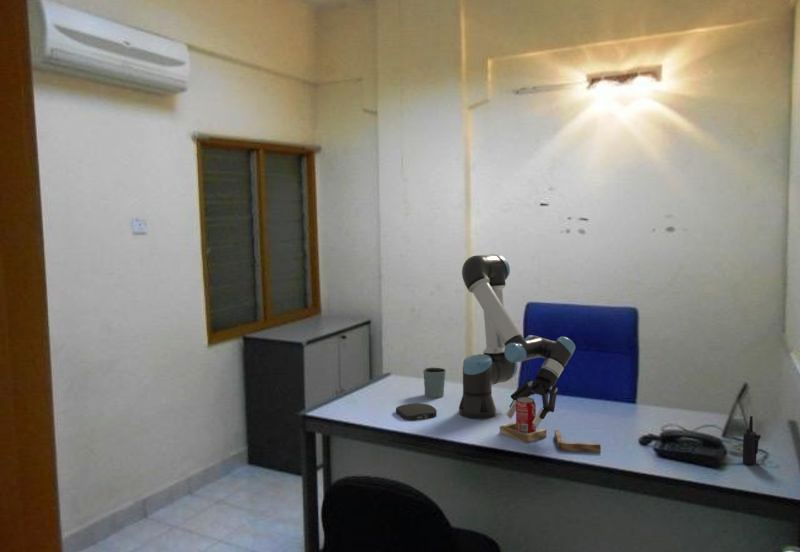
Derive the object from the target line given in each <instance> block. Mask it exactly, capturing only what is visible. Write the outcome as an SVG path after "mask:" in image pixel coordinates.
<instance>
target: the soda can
mask: <svg viewBox="0 0 800 552" xmlns="http://www.w3.org/2000/svg"><path fill="white" fill-rule="evenodd" d="M536 408H537V407H536V402H535V399H534V398H533V397H530V396H529V397H521V398H518V399H517V402H516V411H515V422H516V431H519V432H522V433H524V434H528V433H531V432H534V431H537V427H535V426H534V424H533V423H532V422H533V420H534V419H535V417H536V415H537V409H536Z"/></svg>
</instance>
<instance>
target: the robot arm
mask: <svg viewBox="0 0 800 552" xmlns="http://www.w3.org/2000/svg"><path fill="white" fill-rule="evenodd" d="M510 269H511V268H510V265H509V262H508V261H507V259H505V257H504V256H502V255H500V254H483V255H481V254H480V255H472V256H470V257H468V258H467V259H466V260H465V261H464V263H463V265H462V269H461V276H462V279H463V283H464V285H465V288H466V289H467V291H468V292H469V294H470V293H471V294H473V295H474V297H475V299H476V301H477V302H478V303H479V306H480V307H481V309H482V310H483V318H484V319H483V321H484V331H485V332H484V333H485V343H486V344H485V345H486V347H485V349H484V350H483V352H482V353H483V354H481V353H479V354H472V355H469V356H467V357H466V358H464V359H463V363H462V397H461V400H460V402H459V403H460V404H459V406H458V415H460V416H462V417H464V418H467V419H474V420H481V419H482V420H483V419H484V420H485V419H490V418H493V417H495V416H496V415H497V407H496V405H495V402H494V399H493V396H492V393H493V392H492V391H493V389H492V386H494V385H497V384H499V383H500V384H501V383H506V382H508V381H510V380H512V379H513V378H514V377H515V376H516V374H517V371H518V363H522V362H524V361H528V360H533V359H537V358H542V359H545V360H544V362H543V363H542V364H541V366H540V368H539V370H538V372H536V375H535V379H534V380H531V379H530V378H527V379H526V380H525V382H524V383H523V384H522V385H520V387H519V388H518V389H516V390H515V391H514V392H513V393H512V394H511V395H510V399H512V401H511V403H510V404H509V409H508V411H507V412H506V413H505V415H506V416H507V417H508V418H509V419H512V418H513V416H514V415H515V414H516V402H517V399H518V398H521V397H529V398H530V396H534V395H539V396H541V401H542V407H540V409H539V410H538V411H537V413H536V417H535V419H534V420H533V422H532V423H533V424H534V426H535V427H536V428H538V427H539V425H540V424H541V422H542V421H543V420H545V418H546V416H547V414H548V413H550V412H551V413H554V412H555V407H556V402H557V401H556V400H557V395H558V392H559V389H558V387H557V386H556V384H557V382H558V380H559V378H560V377H561V374H562V373H563V371H564V369H565V367H566V366H567V365H568V362H569V360H570V359H571V358H572V356H573V354H574V352H575V350H576V345H575V343H574V342H573V340H572V339H570V338H568V337H566V336H560V337H558V338H557V339H556V341H555V340H550V339H547V338H544V337H540V336H538V335H531V334H529V335H527V336H526V337H525V338H524V337H523V335H522V333H521V332H520V330H519V329H518V327H517V326H516V325H515V323H514V321H513V320H512V317H511V316H510V315H509V313H508V311H507V310H506V308H505V306H504V305H505V304H504V294H503V291H504V290H503V289H504V288H505V287H506V280H507V279H508V277H509V276H510V272H511V270H510Z"/></svg>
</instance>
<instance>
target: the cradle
mask: <svg viewBox="0 0 800 552" xmlns="http://www.w3.org/2000/svg"><path fill="white" fill-rule="evenodd" d="M554 438H555V442H556V446H557V447H556V448H557V450H559V451H561V452H562V451H563V452H565V451H566V452H582V453H583V452H586V453H588V452H589V453H601V447H602V446H601V443H596V442H576V441H575V442H574V441H573V442H571V441H563V438H562V436H561V432H560V430H559V429H554Z"/></svg>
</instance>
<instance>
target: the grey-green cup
mask: <svg viewBox="0 0 800 552" xmlns="http://www.w3.org/2000/svg"><path fill="white" fill-rule="evenodd" d="M446 371H447V370H446V369H445V368H443V367H426V368H424V369H423V370H422V373H423V387H424V396H425V398H430V399H440V398H443V397H444V394H445V393H444V392H445V380H446Z"/></svg>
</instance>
